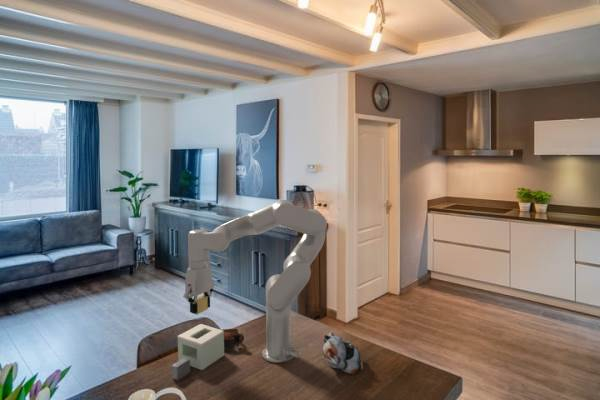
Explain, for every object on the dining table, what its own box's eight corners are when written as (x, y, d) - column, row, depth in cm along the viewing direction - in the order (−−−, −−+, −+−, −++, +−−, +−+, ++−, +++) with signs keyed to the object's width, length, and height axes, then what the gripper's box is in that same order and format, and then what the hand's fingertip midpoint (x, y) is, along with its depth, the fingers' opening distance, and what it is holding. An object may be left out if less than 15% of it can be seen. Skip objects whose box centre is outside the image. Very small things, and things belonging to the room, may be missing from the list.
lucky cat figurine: (365, 376, 134) (351, 349, 129) (333, 386, 136) (318, 359, 131) (359, 344, 148) (346, 318, 143) (330, 354, 150) (317, 329, 145)
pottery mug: (212, 351, 152) (213, 329, 155) (226, 351, 160) (226, 331, 163) (238, 349, 148) (238, 327, 151) (251, 349, 156) (250, 328, 159)
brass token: (208, 309, 146) (208, 296, 145) (196, 314, 140) (196, 301, 140) (203, 307, 147) (203, 295, 146) (191, 313, 142) (191, 300, 141)
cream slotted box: (224, 355, 148) (223, 330, 147) (202, 370, 138) (201, 343, 137) (201, 347, 154) (200, 323, 153) (178, 361, 144) (177, 336, 143)
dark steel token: (190, 372, 137) (189, 359, 136) (177, 380, 132) (176, 367, 131) (185, 370, 138) (184, 357, 137) (172, 378, 133) (171, 365, 132)
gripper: (207, 256, 151) (208, 300, 153) (174, 267, 136) (175, 316, 138) (222, 259, 147) (223, 304, 149) (189, 270, 132) (190, 320, 134)
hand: (200, 309), depth 144 cm, fingers closed on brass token, 5 cm apart
